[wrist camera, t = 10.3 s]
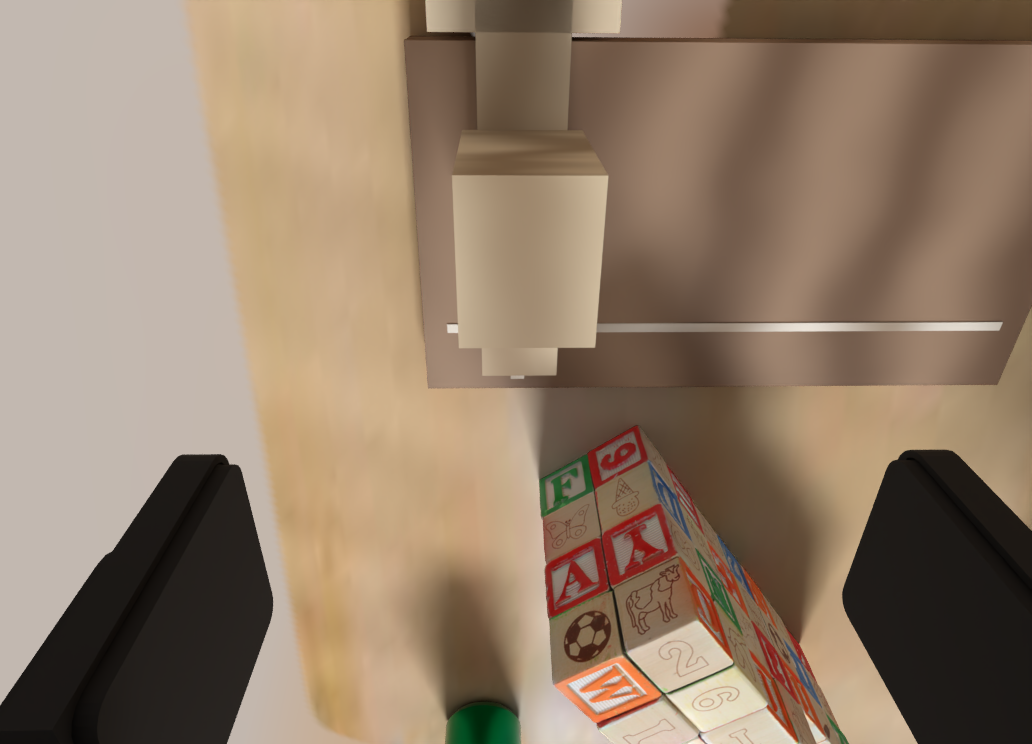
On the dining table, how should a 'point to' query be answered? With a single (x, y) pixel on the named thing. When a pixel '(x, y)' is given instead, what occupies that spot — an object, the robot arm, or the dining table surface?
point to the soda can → (483, 725)
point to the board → (768, 209)
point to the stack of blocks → (664, 614)
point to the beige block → (526, 185)
